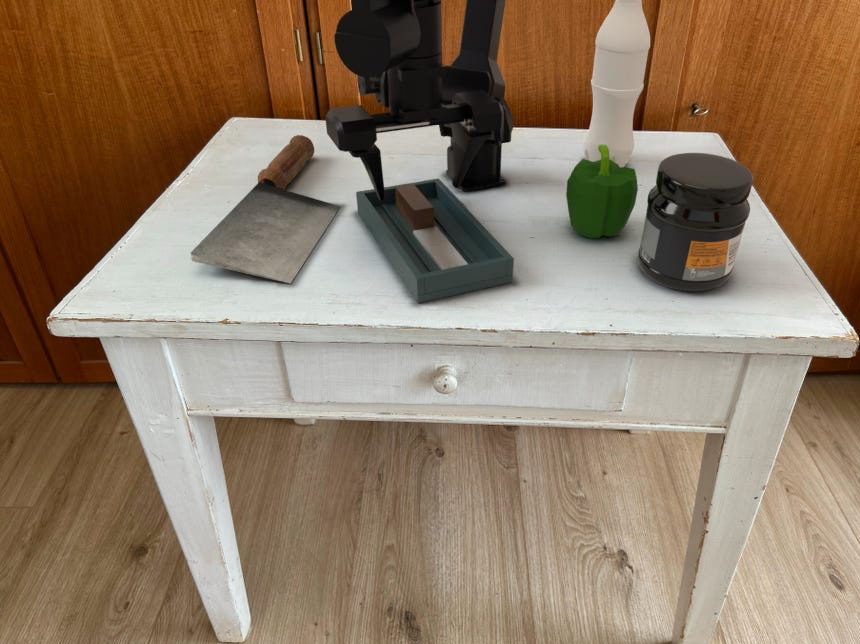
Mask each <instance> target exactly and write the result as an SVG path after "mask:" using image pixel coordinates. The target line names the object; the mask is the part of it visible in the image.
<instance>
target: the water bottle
mask: <svg viewBox="0 0 860 644" xmlns="http://www.w3.org/2000/svg"><path fill="white" fill-rule="evenodd" d="M642 3H643V1H642V0H615V1H614V2H613V6H612V7H611V9H610V11H609V12H608V14H607V15H606V17H605V19H604V20H603V22H602V24H601V26H600V27H599V29H598V32H597V34H596V37H595V43H594V44H595V49H594V56H593V57H594V58H593V69H592V75H591V76H592V77H591V79H590V85H591V91H592V110H591V111H592V112H591V113H592V114H591V119H590V124H589V128H588V131H587V133H586V135H585V137H584V140H583V156H584V159H585V160H589V161H592V162H594V161H598V160H601V152H599V149H598V146H599V145H606V146H607V147H608V149H609V159H610V160H612V161H613V162H615V163H617V164H618V165H619V167H626V165H627V163H628V162H629V161H630V159H631V158H632V154H633V151H634V148H635V141H634V130H633V129H634V126H633V125H634V114H635V109H636V105H637V102H638V99H639V96H640V95H641V93H642V91H643V90H644V86H645V84H644V80H645V74H646V68H647V61H648V55H649V51H650V50H649V49H650V48H651V33H650V29H649V25H648V22H647V19H646V15H645V12H644V10H643V4H642Z"/></svg>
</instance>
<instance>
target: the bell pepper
mask: <svg viewBox="0 0 860 644" xmlns="http://www.w3.org/2000/svg"><path fill="white" fill-rule="evenodd" d="M598 149H599V152H601V160H598V161H594V162H592V161H589V160H586V159H585V158H581V159H580V161H579V162H578V163H577V164H576V165H575V166H574V167H573V169H572V171H571V173H570V175H569V177H568V178H567V180H566V192H565V197H566V203H567V204H566V205H567V211H568V216H569V222H570V225H571V227H572V229H573V230H574V231H575V232H576V233H577V234H578V235H579V236H582V237H586V238H589V239H600V238H601V237H602V236H605V237H616V236H618V234H619V233H621V231H622V230H623V229H624V228H625V226H626V225H627V223H628V220H629V219H630V217H631V214H632V212H633V210H634V209H635V205H636V201H637V196H638V191H639V187H638V178H637V173H636V169H635V168H632V167H626V166H624V167H619V165H618V164H617V163H615V162H613V161H612V160H610V159H609V149H608V147H607V146H606V145H599V146H598Z"/></svg>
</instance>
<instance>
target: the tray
mask: <svg viewBox="0 0 860 644" xmlns="http://www.w3.org/2000/svg"><path fill="white" fill-rule="evenodd" d="M408 184H414V185H415V186H416V187H417V189H418V190H419V191H420V192H421V193H422V194H423V196H424V197H425V198H426V199H427V200H428V201H429V202H430V204H431V205H432V206H433V207H434V227H436V226H437V227H438V229H439V230H440V231H441V232H442V233H443V235H444V236H445V237H446V238H447V239H448V241H449V242H450V243H451V244H452V245H453V247H454V248H455V249H456V250H457V251H458V253H459V254H460V255H461V256H462V257H463V259H464V260H465V261H466V262H467V263H468V264H467V265H462V266H457V267H453V268H448V269H443V270H440V269H439V267H438V266H437V265H436V263H435V262H434V261H433V259H432V258H431V257H430V255H429V254H428V253H427V252H426V250H425V249H424V248H423V246H422V245H421V244H420V242H419V241H418V240H417V239H416V237H415V236H414V235H413V230H412V228H411V227H410V226H409V225H408V223H407V222H406V221H405V219H404V218H403V217H402V215H401V214H400V213H399V212H398V210H397V209H396V194H395V187H396V186H402V185H408ZM355 195H356V205H357V214H358V216H359V218H360V219H361V220H362V222H363V223H364V225H365V226H366V228H367V229H368V231H369V232H370V234H371V235H372V237H373V238H374V240H375V241H376V242H377V245H378V246H379V248H380V249H381V250H382V252H383V253H384V254H385V257H386V258H387V259H388V260H389V262H390V263H391V265H392V266H393V268H394V269H395V271H396V272H397V274H398V276H399V277H400V279H401V281H403V283H404V285H405V286H406V288H407V289H408V291H409V293H410V294H411V296H413V298H414V299H415V301H416V302H417V304H421V303H426V302H430V301H435V300H439V299H443V298H448V297H453V296H457V295H462V294H467V293H471V292H475V291H479V290H483V289H488V288H494V287H497V286H501V285H507V284H511V283H513V278H514V277H513V276H514V262H515V259H514V257H513V256H512V255H511V254H510V252H508V250H506V248H504V247H503V245H502V244H501V243H500V242H499V241H498V240H497V239H496V238H495V237H494V236H493V234H492V233H490V232H489V230H488V229H487V228H486V227H485V226H484V225H483V224H482V223H481V222H480V221H479V219H477V217H476V216H474V214H472V212H471V211H470V210H469V209H468V207H466V206H465V205H464V204H463V202H461V200H460V199H459V198H458V197H457V196H456V195H455V194H454V193H453V192H452V191H451V190H450V189H449V187H447V185H445V183H444V182H443V181H442V180H441V179H440V178H439V177H438V178H433V179H426V180H421V181H414V182H409V183H408V182H407V183H403V184H397V185H390V186H384V200H383V201H380V200H379V198H378V196H377V194H376V192H375V189H374V188H371V189H365V190H360V191H356V192H355Z"/></svg>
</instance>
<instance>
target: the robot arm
mask: <svg viewBox="0 0 860 644" xmlns="http://www.w3.org/2000/svg"><path fill="white" fill-rule="evenodd" d="M506 1H507V0H465V7H464V8H465V9H464V15H463V22H462V23H463V24H462V30H461V38H460V39H461V40H460V44H459V45H460V46H459V52H458V55H457V56H456V57H455V59H454V60H453V61H452V62H451V64H450V65H448V64H447V65H445V64H443V33H442V32H443V28H442V27H443V25H442V24H443V23H442V22H443V21H442V19H443V18H442V0H350V6H351V7H350V8H351V9H350V10H349V11H347V12H346V13H343V15H342V16H341V17H340V19H339V20H338V22H337V24H336V29H335V33H334V45H335V50H336V53H337V55H338V58H339V59H340V61H341V63H343V65H344V66H345V67H346V68H347V69H348V70H349V71H350V72H351V73H352V74H354V75H356V83H357V88H358V93H359V95H360V96H362V97H363V96H370V95H374V96H375V101H376V102H375V103H377V104H381V106H382V107H383V108H384V109H388V110H389V111H388V112H383V113H382V112H381V113H374V114H370V113H369V111H367V110H366V109H365V108H364V107H363V106H362V104H356V105H348V106H347V105H346V106H340V107H332V108H331V107H330V108H329V109H328V111H327V113H326V114H325V127H326V134H327V136H328V137H329V138H330V140H331V141H332V143H333V144H334V145H335V147H336V148H337V149H338V151H340V152H346V153H349V154H350V155H351V157H352V158H358V159H360V160H361V162H362V164H363V166H364V168H365V171H366V173H367V176H368V177H369V180H370V183H371V185H372V187H373V189H375V192H376V194H377V196H378V198H379V200H380V201H383V200H384V187H385V183H384V182H385V181H384V174H383V173H384V172H383V164H382V163H383V162H382V154H381V149H380V148H379V147H378V146H377V145H376V142H377V141H378V134H383V133H391V132H397V131H403V130H412V129H419V128H426V127H427V128H428V127H433V126H438V129H439V133H440V137H444V138H445V137H448V138H450V145H449V146H448V147H447V148H446V170H445V174H446V176H448V178H449V179H451V184H452V186H453V187H454V189H460V190H461V191H463V192H469V191H474V190H480V189H486V188H491V187H498V186H503V185H505V184H506V181H507V180H506V179H505V178H504V177H503V176H502V175H501V172H502V152H503V151H502V148H503V144H507V143H511V141H512V132H513V130H514V117H513V114H512V112H511V109H510V108H509V105H508V102H507V101H506V99H505V94H506V83H505V80H504V78H503V74H502V72H501V70H500V69H501V68H500V67H499V64H498V54H499V47H500V42H501V41H500V40H501V34H502V27H503V22H504V21H503V20H504V14H505V7H506V3H507V2H506Z"/></svg>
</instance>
